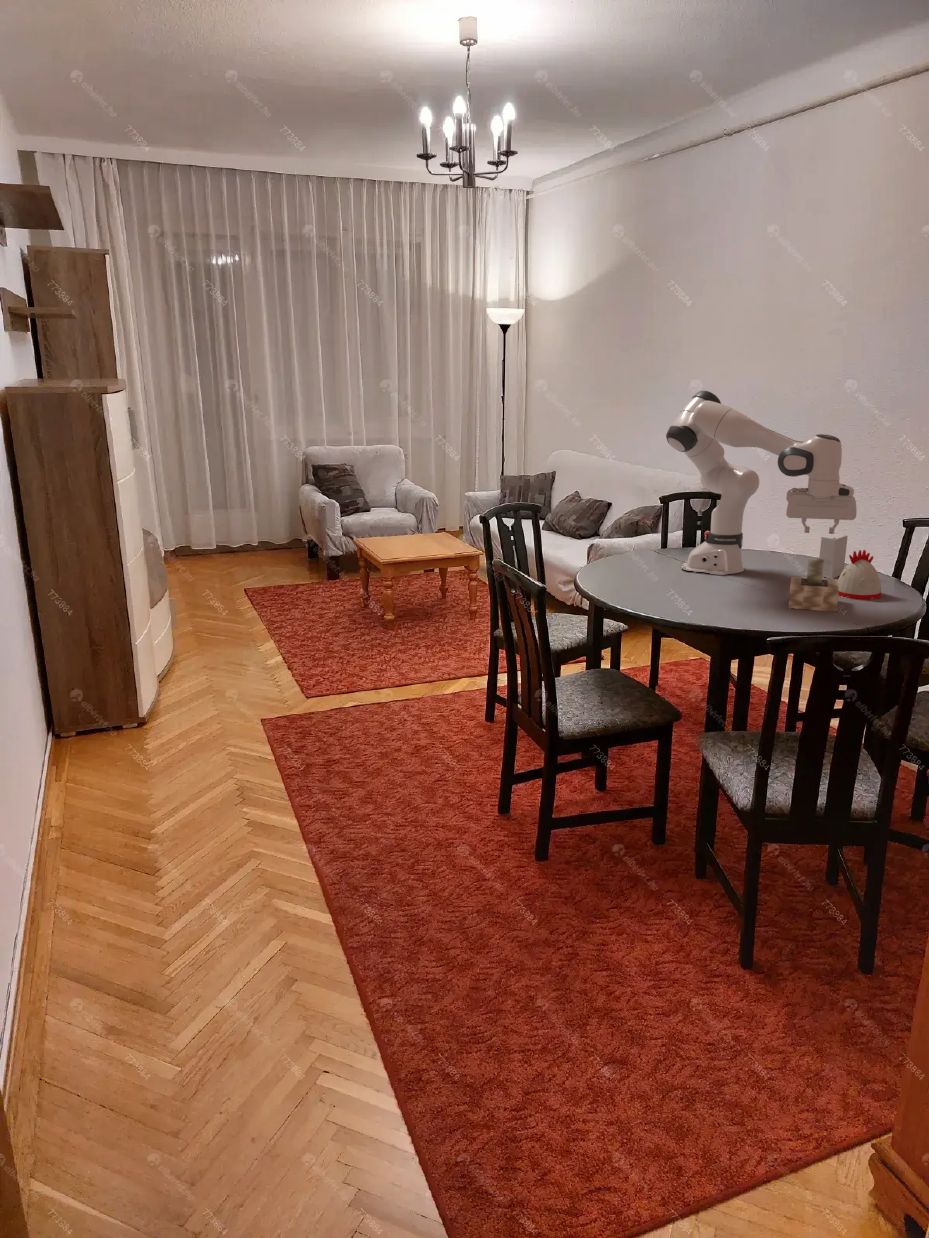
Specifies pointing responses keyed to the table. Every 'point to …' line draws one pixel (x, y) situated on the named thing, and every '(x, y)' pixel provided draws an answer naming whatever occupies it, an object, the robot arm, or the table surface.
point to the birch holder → (813, 594)
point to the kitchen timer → (859, 578)
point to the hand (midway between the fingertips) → (819, 533)
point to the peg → (815, 571)
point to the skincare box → (833, 554)
